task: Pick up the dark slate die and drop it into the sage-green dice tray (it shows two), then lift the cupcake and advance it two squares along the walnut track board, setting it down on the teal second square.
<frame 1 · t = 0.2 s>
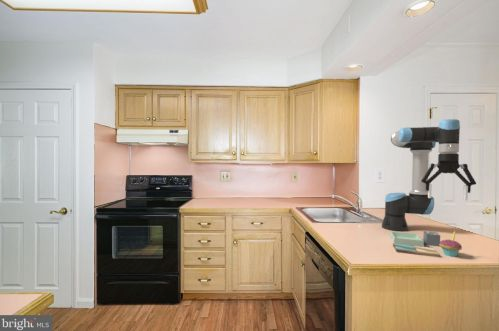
hand: (447, 198, 120), 27 cm above the counter, fingers open, 13 cm apart
die: (431, 244, 139), on the counter
tray: (405, 241, 143), on the counter
cupcake: (450, 255, 123), on the counter
board: (415, 250, 128), on the counter
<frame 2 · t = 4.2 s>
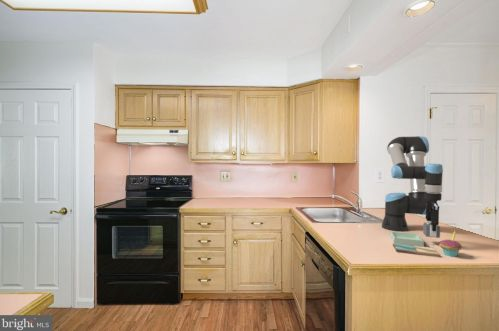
hand: (431, 234, 139), 5 cm above the counter, fingers closed on die, 6 cm apart
die: (431, 235, 139), point 4 cm above the counter, touching gripper
everything else where it was.
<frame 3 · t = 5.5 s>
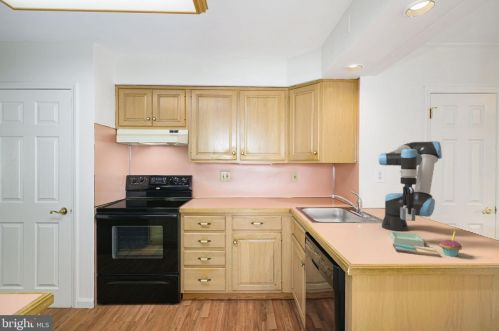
hand: (407, 218, 142), 13 cm above the counter, fingers closed on die, 6 cm apart
die: (407, 219, 142), point 12 cm above the counter, touching gripper
everything else where it was.
when the fingers open (4 cm above the counter, at t = 6.8 s): die drops 3 cm, resting on tray.
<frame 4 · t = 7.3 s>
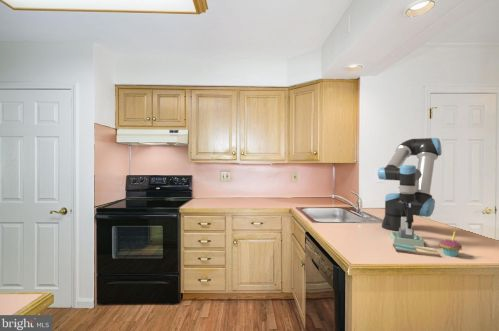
hand: (406, 231, 143), 6 cm above the counter, fingers open, 13 cm apart
die: (405, 240, 143), point 1 cm above the counter, touching tray
everything else where it was.
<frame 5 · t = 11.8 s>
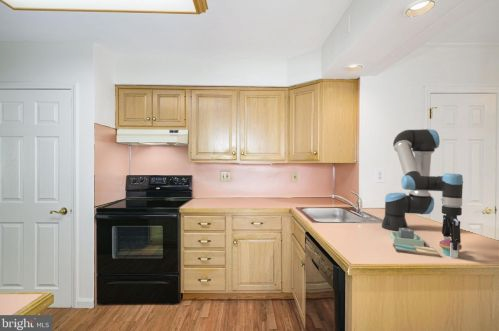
hand: (450, 253, 123), 1 cm above the counter, fingers closed on cupcake, 8 cm apart
cupcake: (450, 255, 123), on the counter, touching gripper
everything else where it was.
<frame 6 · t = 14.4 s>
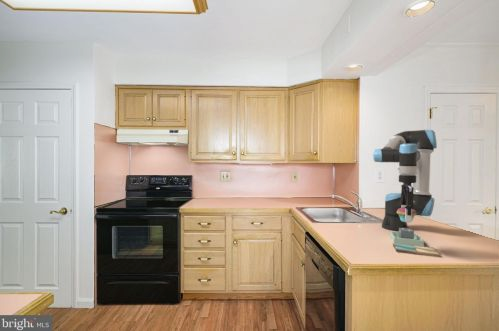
hand: (406, 219, 129), 15 cm above the counter, fingers closed on cupcake, 8 cm apart
cupcake: (406, 221, 129), point 14 cm above the counter, touching gripper
everything else where it was.
when the fingers open (3 cm above the counter, at t = 17.1 s): cupcake drops 1 cm, resting on board.
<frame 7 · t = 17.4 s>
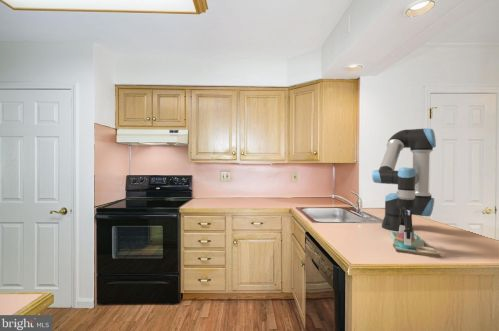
hand: (404, 241, 129), 4 cm above the counter, fingers open, 11 cm apart
cupcake: (404, 247, 130), point 1 cm above the counter, touching board
everything else where it was.
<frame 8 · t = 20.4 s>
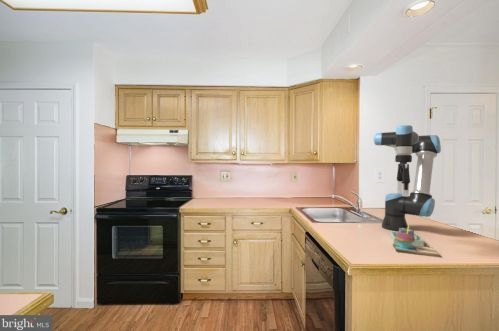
hand: (402, 194, 137), 27 cm above the counter, fingers open, 13 cm apart
nothing on the counter moved.
at the end: cupcake inside the target area (0.0 cm from its centre), point 1.0 cm above the counter; cupcake tilted 0°; die inside the target area on the tray (0.2 cm from its centre), point 0.6 cm above the tray's base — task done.
